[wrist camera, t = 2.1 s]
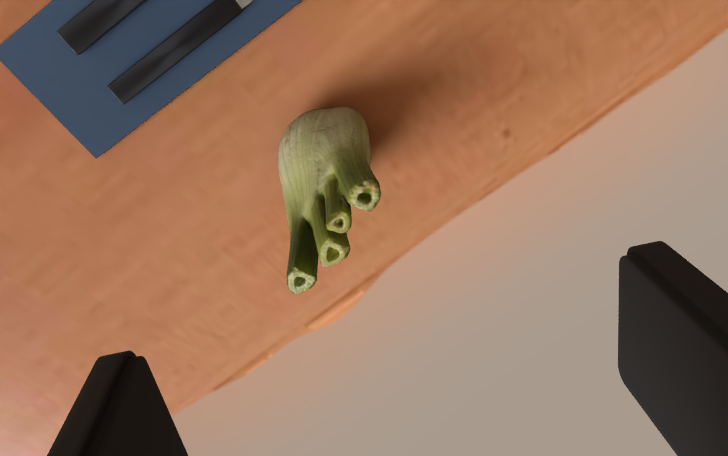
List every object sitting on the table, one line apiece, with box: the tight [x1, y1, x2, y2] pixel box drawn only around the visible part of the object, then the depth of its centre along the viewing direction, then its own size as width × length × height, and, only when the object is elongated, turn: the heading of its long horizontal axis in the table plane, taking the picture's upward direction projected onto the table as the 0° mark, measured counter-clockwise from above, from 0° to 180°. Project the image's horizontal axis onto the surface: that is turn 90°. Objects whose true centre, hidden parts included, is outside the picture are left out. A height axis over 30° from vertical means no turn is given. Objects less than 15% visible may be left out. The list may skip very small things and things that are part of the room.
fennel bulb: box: [278, 107, 381, 294], centre depth 28 cm, size 6×5×12 cm
